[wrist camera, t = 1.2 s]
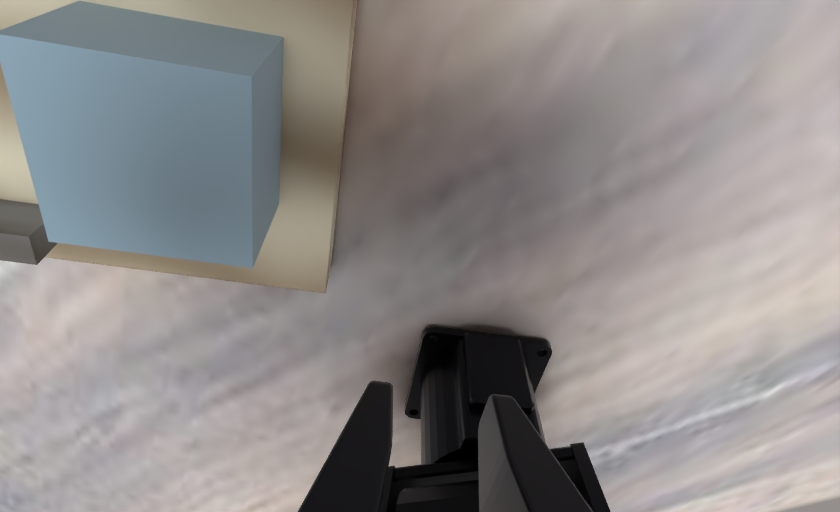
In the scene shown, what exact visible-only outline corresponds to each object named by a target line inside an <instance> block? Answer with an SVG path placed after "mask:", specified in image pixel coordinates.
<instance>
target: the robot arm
mask: <svg viewBox="0 0 840 512" xmlns="http://www.w3.org/2000/svg"><path fill="white" fill-rule="evenodd" d="M431 336H435V338H430V337H431ZM542 349H544V350H542ZM539 350H542V351H539ZM551 355H552V349H551V346H550V343H549V342H547V341H545V340H538V339H530V338H522V337H514V336H506V335H498V334H490V333H482V332H473V331H465V330H457V329H449V328H441V327H429V328H426V329H425V330H424V331H423V334H422V338H421V342H420V346H419V350H418V354H417V359H416V363H415V367H414V371H413V375H412V379H411V383H410V387H409V391H408V396H407V400H406V404H405V414H406V416H408V417H410V418H416V419H421V465H415V466H407V467H399V468H395V466H389V467H388V465H389V460H390V454H391V447H392V428H393V386H392V384H391V383H389V382H380V381H371V382H370V383H369V384H368V386H367V387H366V389H365V391H364V393H363V395H362V396H361V398H360V400H359V402H358V404H357V406H356V407H355V409H354V411H353V413H352V415H351V416H350V418H349V420H348V422H347V424H346V425H345V427H344V429H343V431H342V433H341V434H340V436H339V438H338V440H337V442H336V443H335V445H334V447H333V449H332V451H331V452H330V454H329V456H328V458H327V460H326V462H325V463H324V465H323V467H322V469H321V471H320V472H319V474H318V476H317V478H316V480H315V481H314V483H313V485H312V487H311V489H310V490H309V492H308V494H307V496H306V498H305V499H304V501H303V503H302V505H301V507H300V509H299V510H298V512H610V509H609V507H608V504H607V502H606V499H605V497H604V494H603V491H602V489H601V486H600V484H599V481H598V479H597V476H596V474H595V471H594V469H593V466H592V463H591V461H590V458H589V456H588V453H587V451H586V448H585V446H584V443H575V444H570V446H569V447H561V448H553V449H549V448H548V446H547V445H546V443H545V439H544V434H543V430H542V426H541V421H540V417H539V413H538V408H537V404H536V400H535V395H534V393H535V390H536V388H537V386H538V384H539V381H540V379H541V377H542V375H543V372H544V370H545V368H546V366H547V363H548V361H549V359H550V357H551Z"/></svg>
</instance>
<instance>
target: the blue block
mask: <svg viewBox="0 0 840 512" xmlns="http://www.w3.org/2000/svg"><path fill="white" fill-rule="evenodd" d="M283 40H284V37H281V36H276V35H270V34H264V33H259V32H253V31H247V30H242V29H236V28H230V27H225V26H219V25H213V24H208V23H202V22H197V21H191V20H185V19H180V18H174V17H168V16H163V15H157V14H151V13H146V12H140V11H135V10H129V9H123V8H118V7H112V6H106V5H101V4H95V3H89V2H84V1H76V2H74V3H71V4H68V5H66V6H63V7H60V8H58V9H55V10H52V11H50V12H47V13H44V14H42V15H39V16H36V17H34V18H31V19H28V20H26V21H23V22H20V23H18V24H15V25H12V26H10V27H7V28H4V29H2V30H0V63H1V67H2V71H3V75H4V78H5V82H6V86H7V89H8V93H9V97H10V101H11V104H12V108H13V112H14V115H15V119H16V123H17V126H18V130H19V134H20V138H21V141H22V145H23V149H24V152H25V156H26V160H27V164H28V167H29V171H30V175H31V178H32V182H33V186H34V189H35V193H36V197H37V201H38V204H39V208H40V212H41V215H42V219H43V223H44V227H45V230H46V234H47V238H48V241H49V242H56V243H63V244H71V245H79V246H86V247H94V248H102V249H109V250H117V251H124V252H132V253H140V254H147V255H155V256H163V257H170V258H178V259H186V260H193V261H201V262H209V263H216V264H224V265H232V266H239V267H247V268H253V266H254V264H255V262H256V259H257V257H258V254H259V252H260V249H261V247H262V244H263V242H264V240H265V237H266V235H267V232H268V230H269V227H270V225H271V222H272V220H273V218H274V215H275V213H276V210H277V208H278V205H279V187H280V150H281V114H282V77H283Z"/></svg>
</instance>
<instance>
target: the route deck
mask: <svg viewBox="0 0 840 512" xmlns="http://www.w3.org/2000/svg"><path fill="white" fill-rule="evenodd" d="M76 1H84V2H89V3H95V4H101V5H106V6H112V7H118V8H123V9H129V10H135V11H140V12H146V13H151V14H157V15H163V16H168V17H174V18H180V19H185V20H191V21H197V22H202V23H208V24H213V25H219V26H225V27H230V28H236V29H242V30H247V31H253V32H259V33H264V34H270V35H276V36H281V37H284V40H283V77H282V114H281V150H280V187H279V205H278V208H277V210H276V213H275V215H274V218H273V220H272V222H271V225H270V227H269V230H268V232H267V235H266V237H265V240H264V242H263V244H262V247H261V249H260V252H259V254H258V257H257V259H256V262H255V264H254V266H253V268H247V267H239V266H232V265H224V264H216V263H209V262H201V261H193V260H186V259H178V258H170V257H163V256H155V255H147V254H140V253H132V252H124V251H117V250H109V249H102V248H94V247H86V246H79V245H71V244H63V243H56V242H49V241H48V238H47V234H46V230H45V227H44V223H43V219H42V215H41V212H40V208H39V204H38V201H37V197H36V193H35V189H34V186H33V182H32V178H31V175H30V171H29V167H28V164H27V160H26V156H25V152H24V149H23V145H22V141H21V138H20V134H19V130H18V126H17V123H16V119H15V115H14V112H13V108H12V104H11V101H10V97H9V93H8V89H7V86H6V82H5V78H4V75H3V71H2V67H1V63H0V260H3V261H11V262H19V263H27V264H35V265H37V264H38V263H39V262H40V261H41V260H42V259H43V258H44V257H46V258H54V259H62V260H70V261H78V262H85V263H93V264H101V265H109V266H117V267H125V268H132V269H140V270H148V271H156V272H164V273H172V274H179V275H187V276H195V277H203V278H211V279H219V280H226V281H234V282H242V283H250V284H258V285H266V286H273V287H281V288H289V289H297V290H305V291H313V292H320V293H325V292H326V287H327V282H328V278H329V273H330V268H331V262H332V252H333V242H334V232H335V222H336V212H337V201H338V191H339V181H340V171H341V161H342V151H343V141H344V131H345V121H346V111H347V100H348V90H349V80H350V70H351V60H352V50H353V40H354V30H355V20H356V9H357V0H0V30H2V29H4V28H7V27H10V26H12V25H15V24H18V23H20V22H23V21H26V20H28V19H31V18H34V17H36V16H39V15H42V14H44V13H47V12H50V11H52V10H55V9H58V8H60V7H63V6H66V5H68V4H71V3H74V2H76Z"/></svg>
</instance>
